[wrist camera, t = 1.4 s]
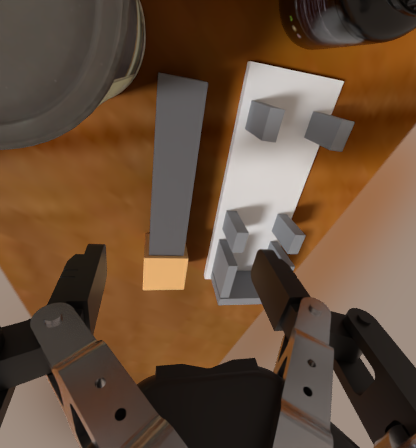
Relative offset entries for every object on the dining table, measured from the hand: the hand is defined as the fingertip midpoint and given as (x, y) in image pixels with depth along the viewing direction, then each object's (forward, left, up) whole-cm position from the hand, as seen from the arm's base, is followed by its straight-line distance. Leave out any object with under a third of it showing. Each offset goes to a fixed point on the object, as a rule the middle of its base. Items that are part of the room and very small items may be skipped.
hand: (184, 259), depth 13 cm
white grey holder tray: (+2, +10, -14) cm, 17 cm away
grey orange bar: (+2, 0, -14) cm, 14 cm away
